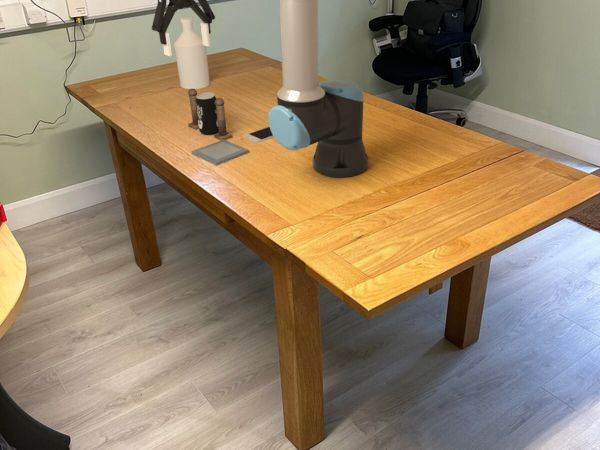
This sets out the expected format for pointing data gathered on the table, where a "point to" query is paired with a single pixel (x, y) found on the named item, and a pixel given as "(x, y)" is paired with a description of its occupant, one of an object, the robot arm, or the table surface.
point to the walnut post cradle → (220, 116)
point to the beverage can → (207, 113)
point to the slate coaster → (220, 152)
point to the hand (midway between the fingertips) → (187, 50)
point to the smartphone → (259, 135)
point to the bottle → (191, 57)
